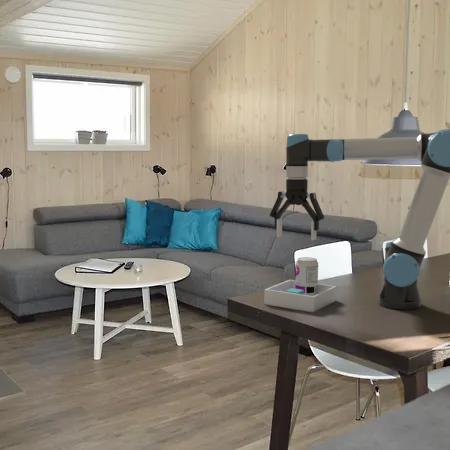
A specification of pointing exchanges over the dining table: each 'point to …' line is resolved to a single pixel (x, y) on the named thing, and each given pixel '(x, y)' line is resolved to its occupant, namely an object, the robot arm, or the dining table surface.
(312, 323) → the dining table surface
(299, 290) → the cube
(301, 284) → the supplement can
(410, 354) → the dining table surface
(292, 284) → the tote
